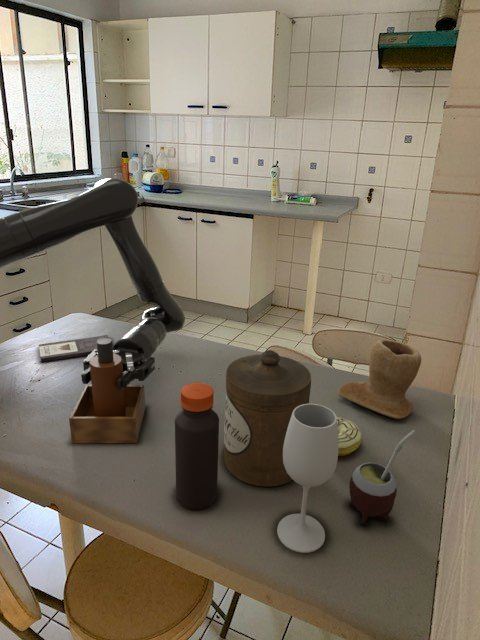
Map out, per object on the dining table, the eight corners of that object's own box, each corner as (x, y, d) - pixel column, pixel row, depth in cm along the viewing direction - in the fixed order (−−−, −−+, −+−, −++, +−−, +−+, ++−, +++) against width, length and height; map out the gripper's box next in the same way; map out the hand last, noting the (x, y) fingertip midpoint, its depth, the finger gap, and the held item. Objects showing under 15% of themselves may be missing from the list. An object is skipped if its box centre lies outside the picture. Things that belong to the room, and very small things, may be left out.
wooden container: (222, 435, 92) (225, 333, 84) (296, 434, 93) (306, 334, 85) (224, 488, 78) (227, 373, 70) (311, 487, 79) (324, 374, 71)
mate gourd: (339, 517, 73) (351, 439, 67) (355, 488, 79) (368, 414, 74) (386, 539, 70) (403, 458, 64) (399, 506, 76) (416, 429, 70)
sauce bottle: (92, 430, 91) (83, 347, 84) (99, 413, 96) (91, 334, 89) (123, 430, 91) (117, 348, 84) (128, 413, 97) (123, 334, 90)
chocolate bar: (113, 348, 124) (40, 358, 116) (113, 351, 124) (41, 362, 117) (107, 335, 131) (38, 344, 124) (107, 338, 132) (39, 347, 124)
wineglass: (315, 510, 74) (329, 398, 66) (334, 549, 67) (352, 429, 60) (270, 517, 73) (279, 402, 65) (284, 557, 66) (297, 435, 58)
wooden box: (71, 443, 88) (68, 418, 86) (87, 407, 99) (85, 384, 97) (136, 443, 89) (135, 418, 86) (145, 407, 100) (144, 385, 98)
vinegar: (221, 484, 79) (224, 382, 71) (211, 514, 73) (213, 405, 65) (183, 478, 80) (182, 376, 73) (170, 506, 74) (167, 398, 66)
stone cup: (421, 406, 104) (434, 346, 99) (398, 428, 96) (411, 364, 90) (360, 382, 114) (369, 326, 108) (335, 400, 105) (343, 341, 100)
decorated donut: (327, 420, 98) (329, 405, 97) (370, 445, 90) (373, 429, 89) (293, 438, 92) (295, 422, 90) (336, 467, 84) (339, 450, 83)
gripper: (106, 326, 103) (64, 360, 87) (167, 334, 100) (136, 370, 85) (108, 357, 105) (68, 394, 90) (168, 365, 103) (137, 405, 88)
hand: (101, 382), depth 88 cm, fingers open, 6 cm apart
